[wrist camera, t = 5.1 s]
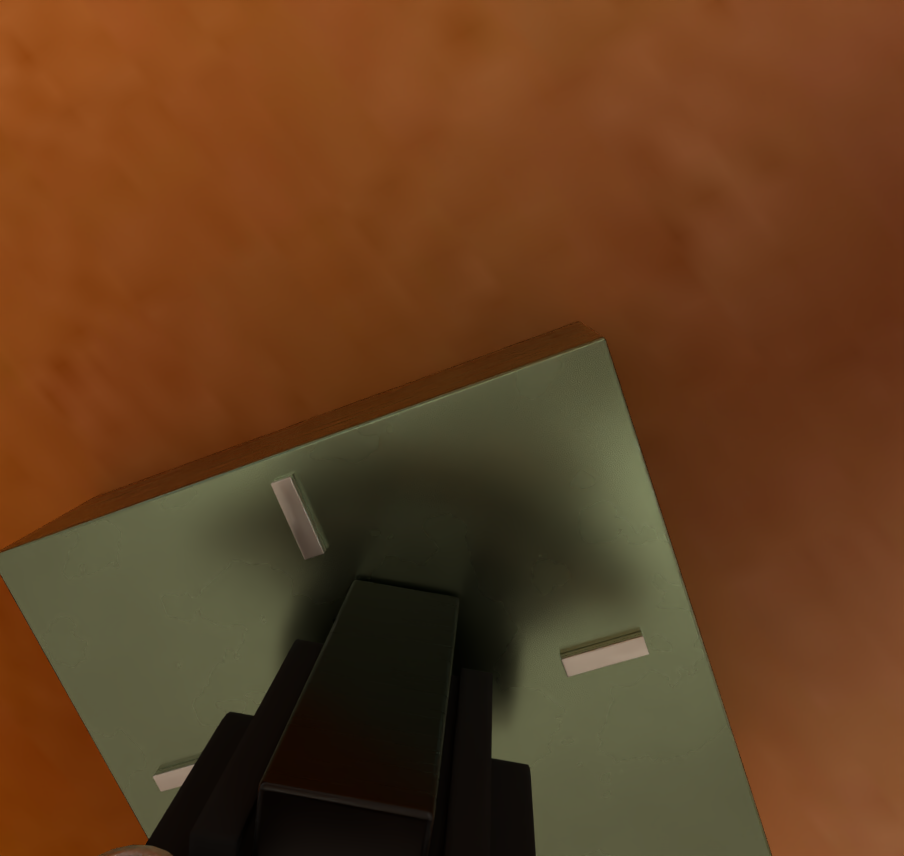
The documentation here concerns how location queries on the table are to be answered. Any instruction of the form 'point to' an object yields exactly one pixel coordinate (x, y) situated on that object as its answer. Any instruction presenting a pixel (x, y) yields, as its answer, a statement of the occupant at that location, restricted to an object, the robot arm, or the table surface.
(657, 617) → the dial panel
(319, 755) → the black upright block
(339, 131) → the table surface
